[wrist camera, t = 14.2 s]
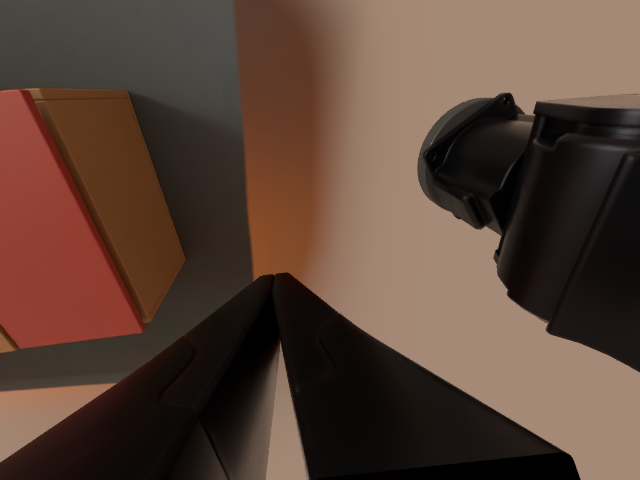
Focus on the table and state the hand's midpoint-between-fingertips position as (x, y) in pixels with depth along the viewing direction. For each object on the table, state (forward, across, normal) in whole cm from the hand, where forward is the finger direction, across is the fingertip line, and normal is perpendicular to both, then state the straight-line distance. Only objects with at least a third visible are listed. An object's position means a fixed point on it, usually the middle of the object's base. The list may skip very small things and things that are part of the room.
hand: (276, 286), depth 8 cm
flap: (+6, -11, 0) cm, 13 cm away
